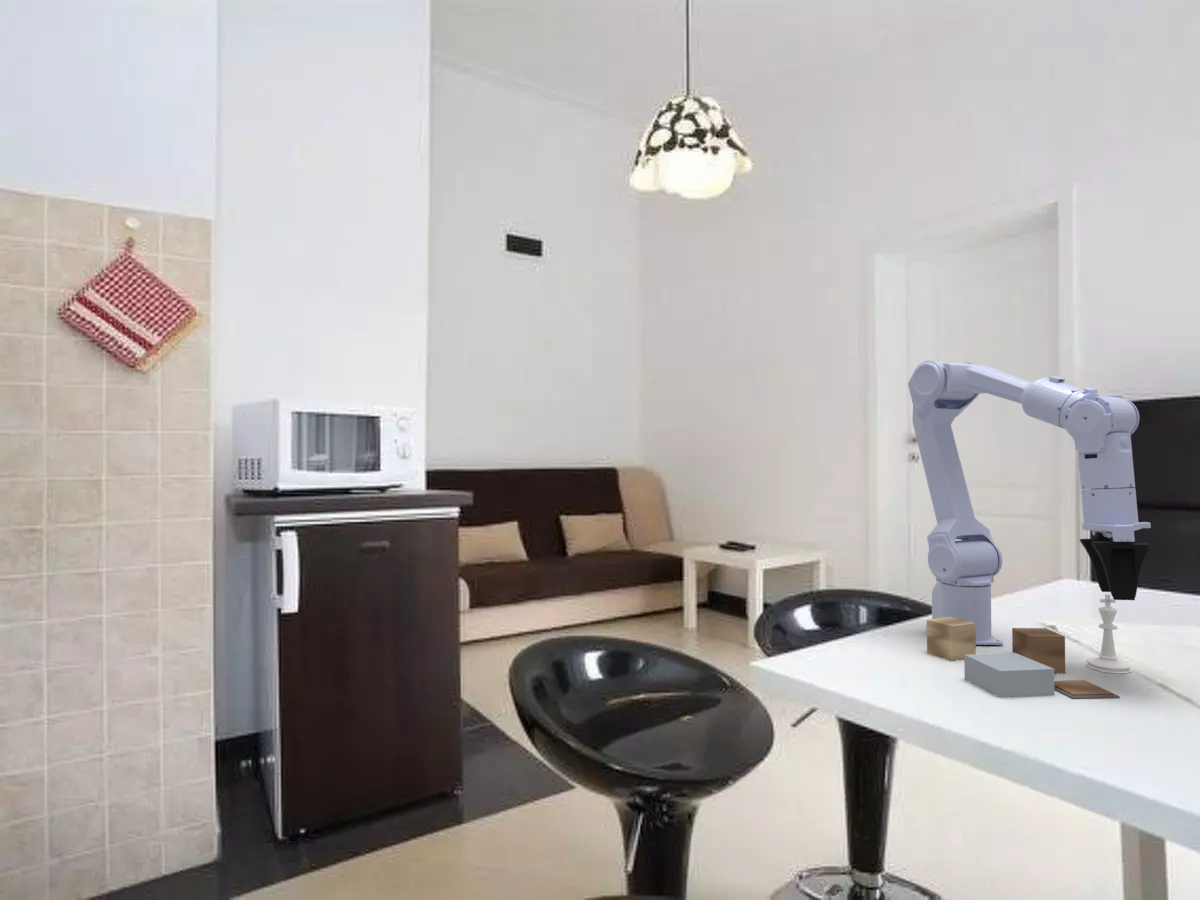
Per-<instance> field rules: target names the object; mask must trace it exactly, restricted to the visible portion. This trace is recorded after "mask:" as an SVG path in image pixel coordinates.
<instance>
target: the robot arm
mask: <svg viewBox="0 0 1200 900" xmlns="http://www.w3.org/2000/svg"><path fill="white" fill-rule="evenodd" d="M1065 382H1066V378H1065V377H1062V376H1055V375H1054V376H1053V375H1051V376H1049V378H1048V377H1043V378H1042V377H1041V378H1039V379H1037V380H1035V381H1033V382H1031V381H1028V380H1026V379H1023V378H1021V377H1019V376H1015V375H1012V374H1010V373H1007V372H1004V371H1003V370H999V369H996V368H994V367H991V366H989V365H984V364H976V363H973V362H949V361H947V362H944V361H935V360H924V361H922V362H921V363H919V365H917V366H916V368H915V370H914V371H913V373H912V375H911V377H910V379H909V380H908V383H907V386H908V389H909V394H910V399H911V402H912V418H911V419H912V425H913V430H914V434H915V437H916V442H917V446H918V449H919V450H918V451H919V454H920V458H921V463H922V465H923V469H924V476H925V478H926V482H927V486H928V489H929V494H930V497H931V498H930V500H931V503H932V506H933V511H934V516H935V518H936V523H937V524H936V526H935V527H934V528H933V529H932V530H931V531H930V533H929V534H928V535H927V537H926V538H927V544H928V555H927V563H928V567H929V569H930V570H929V571H931V573H932V575H933V576H934V577H935V581H936V582H937V583H936V584H935V585H934V587H933V588H932V591H931V619H935V618H943V617H953V618H957V619H961V620H965V621H968V622H972V623H976V646H978V645H979V646H981V645H982V646H983V645H984V646H1003V645H1004V641H1003V640H1002V639H999V638H997V637H994V636H993V635H992V585H991V584H993V583H994V582H995V577H996V576H997V575H998V574H999V572H1000V571H1001V569H1002V566H1003V556H1002V552H1001V550H1000V548H999V547H998V545H997V544H996V543H995V542H994V539H993V538H992V535H991V530H990V529H989V528H988V527H987V526H986V525H984V524H983V523H982V522H980V521H979V520H978V519H977V518H976V517H975V514H974V513H975V512H974V509H973V505H972V501H971V498H970V493H969V490H968V486H967V482H966V477H965V475H964V470H963V467H962V462H961V459H960V455H959V451H958V448H957V444H956V440H955V436H954V432H953V429H952V424H953V422H954V420H955V419H956V418H957V417H958V416H960V414H962V413H963V412H964V410H965V409H967V408H968V407H969V406H970V405H971V404H972V403H973V402H974V401H975V400H976V399H977V398H978V396H979V395H981V394H988V395H992V396H994V397H998V398H1001V399H1004V400H1008V401H1012V402H1014V403H1016V404H1017V403H1018V404H1020V405H1021V407H1022V409H1023V413H1024V414H1025V415H1027V416H1029V417H1031V418H1033V419H1037V420H1039V421H1041V422H1044V423H1047V424H1050V425H1052V426H1055V427H1059V428H1061V429H1064V430H1066V433H1068V434H1069V436H1070V437H1071V438H1072V439H1073V442H1074V448H1075V449H1074V450H1076V451H1077V458H1078V468H1079V469H1078V470H1079V479H1080V481H1079V482H1080V491H1081V505H1082V515H1083V523H1081V524H1082V530H1084V531H1091V533H1092V536H1093V538H1080V539H1079V541H1080V544H1081V545H1082V547H1083V548H1084V550H1085V551H1086V553H1087V554H1088V555H1087V556H1088V557H1089V560H1090V561H1091V564H1092V568H1093V571H1094V574H1095V578H1096V581H1097V583H1098V586H1099V589H1100V591H1101V592H1102V593H1110V596H1111V597H1112V599H1114V600H1115V601H1135V600H1136V597H1137V591H1138V585H1139V580H1140V579H1139V577H1140V573H1141V570H1142V569H1141V568H1142V565H1143V561H1144V559H1145V557H1146V555H1147V554H1148V552H1149V551H1150V548H1151V544H1150V543H1146V542H1143V543H1142V542H1141V543H1140V542H1138V543H1135V542H1136V539H1135V531H1138V530H1142V529H1151V528H1152V527H1151V526H1152V525H1151V524H1152V523H1151V522H1147V521H1142V522H1141V521H1140V522H1139V515H1138V514H1139V513H1138V504H1137V503H1138V502H1137V492H1136V491H1137V490H1136V482H1135V470H1134V459H1133V449H1132V448H1133V447H1132V438H1131V437H1132V435H1133V434H1134V433H1135V431H1136V430H1137V429H1138V427H1139V423H1140V412H1139V410H1138V408H1137V406H1136V405H1135V403H1133V402H1132V401H1130V400H1129V399H1127V398H1124V397H1123V396H1122V395H1108V396H1100V394H1098V389H1096V388H1093V387H1084V389H1083V388H1081V387H1077V386H1075V385H1071V384H1068V383H1065ZM925 629H926V631H927V626H926V628H925Z"/></svg>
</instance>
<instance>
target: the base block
mask: <svg viewBox="0 0 1200 900" xmlns="http://www.w3.org/2000/svg"><path fill="white" fill-rule="evenodd" d="M963 662H964V666H963V667H964V670H963V671H964V680H965V681H966V680H967V682H968V681H970V682H971V684H972V683H973V684H972V685H974V684H975V685H974V686H976V685H977V686H976V687H978V686H979V687H978V688H980V687H981V688H980V689H982V688H983V689H982V690H984V689H985V691H986V692H988V693H990V694H992V695H994V694H995V695H994V696H996V695H997V696H998V698H999V697H1000V699H1004V698H1005V697H1007V698H1008V697H1010V698H1028V697H1048V696H1050V697H1051V696H1052V695H1053V696H1055V692H1056V690H1054V681H1055V674H1054V669H1053V668H1051V667H1049V666H1046V665H1044V664H1041V663H1039V662H1036V661H1034V660H1031V659H1029V658H1026V657H1024V656H1022V655H1019V654H1017V653H1013V652H997V653H976V654H969V655H964V660H963ZM970 682H969V683H970ZM997 696H996V697H997ZM1002 697H1003V698H1002ZM1007 698H1005V699H1007Z"/></svg>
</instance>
